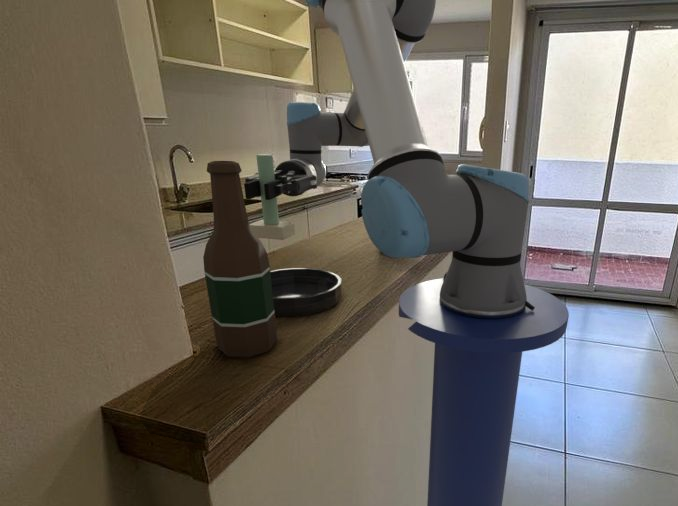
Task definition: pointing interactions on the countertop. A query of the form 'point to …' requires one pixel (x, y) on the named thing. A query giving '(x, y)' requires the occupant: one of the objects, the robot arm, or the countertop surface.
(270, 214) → the green peg on base
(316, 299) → the black shallow round dish
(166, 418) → the countertop surface
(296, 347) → the countertop surface
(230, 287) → the beer bottle
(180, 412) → the countertop surface
